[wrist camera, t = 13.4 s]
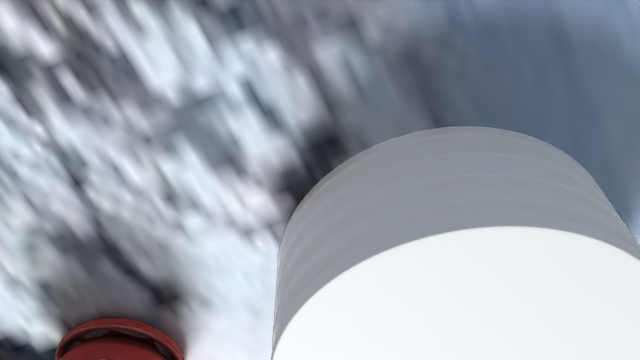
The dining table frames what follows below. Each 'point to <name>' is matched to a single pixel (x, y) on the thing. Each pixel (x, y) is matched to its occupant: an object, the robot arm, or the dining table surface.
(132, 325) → the plant pot
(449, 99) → the dining table surface
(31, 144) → the dining table surface
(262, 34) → the dining table surface
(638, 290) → the plate stack
